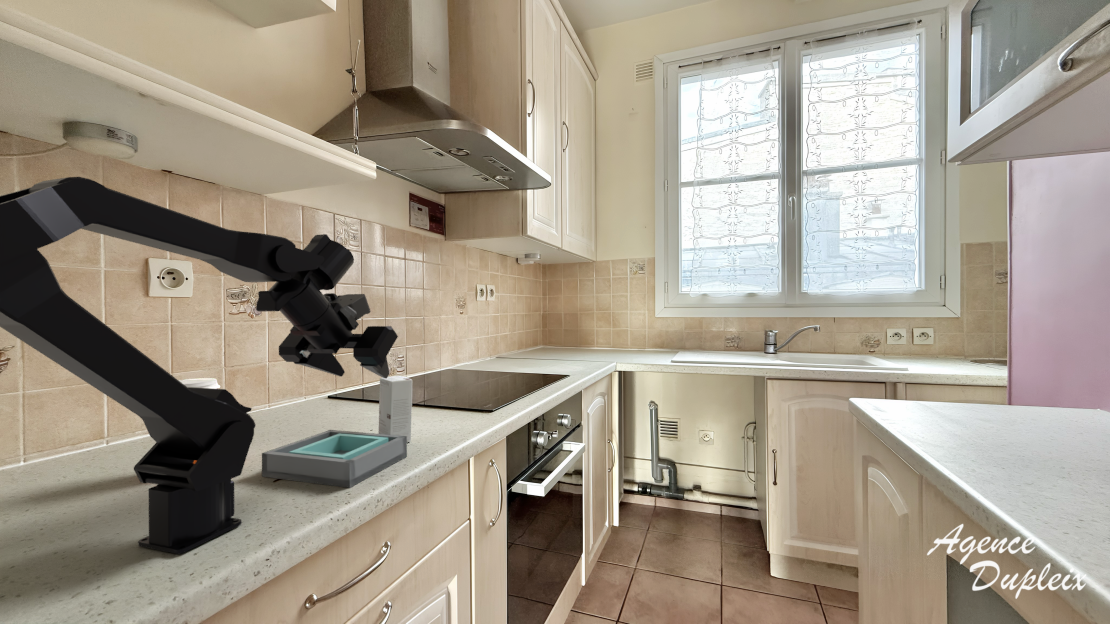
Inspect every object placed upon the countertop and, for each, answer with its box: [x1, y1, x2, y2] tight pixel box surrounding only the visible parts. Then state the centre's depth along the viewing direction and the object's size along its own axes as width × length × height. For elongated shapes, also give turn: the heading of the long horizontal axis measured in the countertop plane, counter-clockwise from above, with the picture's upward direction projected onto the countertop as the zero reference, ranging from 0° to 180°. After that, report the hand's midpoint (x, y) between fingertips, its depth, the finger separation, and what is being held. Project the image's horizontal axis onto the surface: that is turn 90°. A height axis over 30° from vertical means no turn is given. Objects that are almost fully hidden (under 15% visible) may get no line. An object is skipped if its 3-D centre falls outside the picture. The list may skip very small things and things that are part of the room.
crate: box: [261, 429, 408, 489], centre depth 67 cm, size 13×16×4 cm
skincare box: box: [378, 375, 413, 444], centre depth 80 cm, size 6×4×12 cm
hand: (364, 375), depth 72 cm, fingers open, 9 cm apart
